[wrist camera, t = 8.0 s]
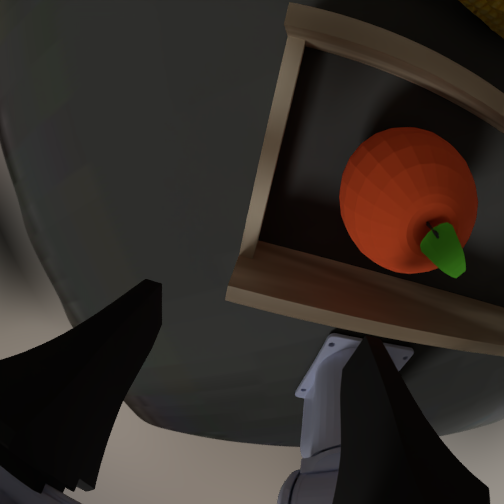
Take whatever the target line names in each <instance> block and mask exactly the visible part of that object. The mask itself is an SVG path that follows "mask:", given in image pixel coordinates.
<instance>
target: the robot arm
mask: <svg viewBox="0 0 504 504" xmlns="http://www.w3.org/2000/svg"><path fill="white" fill-rule="evenodd" d="M161 325H162V284H161V283H158V282H154V281H151V280H148V279H145V280H143V281H142V282H140V283H139V284H138V285H136V286H135V287H133V288H132V289H131V290H129V291H128V292H127V293H125V294H124V295H122V296H121V297H120V298H118V299H117V300H115V301H114V302H113V303H111V304H110V305H108V306H107V307H105V308H104V309H103V310H101V311H100V312H98V313H97V314H95V315H94V316H92V317H90V318H89V319H87V320H86V321H84V322H82V323H81V324H79V325H78V326H76V327H74V328H73V329H71V330H69V331H68V332H66V333H64V334H62V335H60V336H58V337H56V338H54V339H52V340H50V341H48V342H46V343H44V344H42V345H39V346H37V347H35V348H32V349H30V350H28V351H26V352H23V353H20V354H17V355H14V356H11V357H9V358H5V359H2V360H0V504H81V503H80V502H78V501H76V500H74V499H72V498H70V497H68V496H67V495H65V494H63V491H64V489H65V487H66V488H67V489H69V490H71V491H73V492H74V491H75V488H76V487H78V488H80V489H82V490H84V491H90V490H93V489H95V485H96V481H97V477H98V473H99V469H100V465H101V461H102V458H103V455H104V451H105V448H106V445H107V442H108V439H109V436H110V433H111V430H112V427H113V425H114V422H115V419H116V417H117V414H118V412H119V409H120V407H121V404H122V402H123V400H124V398H125V396H126V394H127V392H128V390H129V389H130V387H131V385H132V383H133V381H134V379H135V378H136V376H137V374H138V372H139V371H140V369H141V367H142V365H143V363H144V362H145V360H146V358H147V356H148V354H149V353H150V351H151V349H152V347H153V345H154V342H155V340H156V337H157V335H158V333H159V330H160V328H161ZM413 354H414V351H413V349H412V348H410V347H405V346H399V345H393V344H388V343H383V342H382V341H381V339H380V338H376V337H371V336H366V335H365V336H364V338H363V339H362V338H357V337H352V336H347V335H342V334H338V333H332V334H330V335H329V336H328V337H327V339H326V341H325V343H324V344H323V346H322V348H321V350H320V351H319V353H318V355H317V357H316V358H315V360H314V362H313V363H312V365H311V367H310V369H309V370H308V372H307V373H306V375H305V377H304V378H303V380H302V382H301V383H300V385H299V387H298V388H297V390H296V391H295V396H297V397H300V398H304V409H303V421H302V433H301V443H300V450H301V455H302V457H303V459H302V460H301V468H300V470H296V471H294V472H292V473H291V474H290V476H289V477H288V478H287V480H286V481H285V482H284V484H283V485H282V487H281V490H280V492H279V496H278V501H277V504H490V496H489V488H488V487H487V486H486V485H485V484H484V483H482V482H481V481H480V480H479V479H478V478H477V477H475V476H474V475H473V474H472V473H471V472H470V471H469V470H468V469H467V468H466V467H465V466H464V465H463V464H462V463H461V462H460V461H459V460H458V459H457V458H456V457H455V456H454V455H453V454H452V452H451V451H450V450H449V449H448V447H447V446H446V445H445V444H444V443H443V441H442V440H441V439H440V438H439V436H438V435H437V433H436V432H435V431H434V429H433V428H432V426H431V425H430V424H429V422H428V421H427V419H426V418H425V416H424V415H423V413H422V411H421V410H420V408H419V407H418V405H417V403H416V402H415V400H414V398H413V397H412V395H411V393H410V391H409V390H408V388H407V386H406V384H405V382H404V381H403V379H402V377H401V375H400V373H399V371H400V370H401V368H402V367H403V366H404V365H405V364H406V362H407V361H408V360H409V359H410V358H411V356H412V355H413Z"/></svg>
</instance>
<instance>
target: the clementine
mask: <svg viewBox="0 0 504 504" xmlns="http://www.w3.org/2000/svg"><path fill="white" fill-rule="evenodd" d="M339 199H340V209H341V216H342V219H343V221H344V224H345V227H346V229H347V232H348V233H349V235H350V237H351V239H352V240H353V242H354V243H355V244H356V246H357V247H358V248H359V250H360V251H361V252H362V253H363V254H364V255H366V256H367V257H368V258H369V259H371V260H372V261H373V262H375V263H376V264H378V265H380V266H381V267H384V268H386V269H389V270H391V271H394V272H399V273H407V274H413V273H421V272H428V271H431V270H434V269H437V268H439V269H440V270H441V271H443V272H444V273H446V274H447V275H449V276H451V277H453V278H457V277H459V276H460V275H461V274H462V273H463V272H465V271H466V263H465V257H464V252H463V247H464V246H465V244H466V242H467V241H468V239H469V237H470V235H471V232H472V229H473V227H474V224H475V221H476V216H477V207H478V199H477V192H476V186H475V182H474V179H473V176H472V174H471V172H470V169H469V167H468V165H467V163H466V161H465V160H464V158H463V157H462V156H461V155H460V154H459V152H458V151H457V150H456V149H455V148H454V147H453V146H452V145H451V144H450V143H449V142H447V141H446V140H444V139H443V138H441V137H440V136H438V135H436V134H435V133H433V132H430V131H427V130H423V129H419V128H416V127H399V128H390V129H387V130H384V131H381V132H378V133H376V134H374V135H373V136H371V137H370V138H368V139H367V140H366V141H364V142H363V143H361V144H360V146H359V147H358V148H357V149H356V151H355V152H354V153H353V154H352V156H351V157H350V158H349V161H348V163H347V165H346V167H345V170H344V172H343V174H342V181H341V187H340V195H339Z"/></svg>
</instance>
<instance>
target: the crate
mask: <svg viewBox="0 0 504 504" xmlns="http://www.w3.org/2000/svg"><path fill="white" fill-rule="evenodd" d="M284 26H285V29H286V32H287V35H288V38H287V42H286V47H285V51H284V55H283V60H282V64H281V68H280V72H279V77H278V81H277V85H276V90H275V94H274V99H273V103H272V107H271V112H270V116H269V121H268V125H267V129H266V134H265V138H264V143H263V147H262V152H261V156H260V161H259V165H258V170H257V175H256V179H255V184H254V188H253V193H252V197H251V202H250V207H249V211H248V216H247V221H246V225H245V230H244V235H243V239H242V244H241V249H240V253H239V257H238V260H237V262H236V265H235V268H234V270H233V273H232V276H231V278H230V281H229V284H228V288H227V293H226V298H225V300H227V301H231V302H234V303H238V304H242V305H246V306H250V307H253V308H257V309H261V310H265V311H269V312H273V313H277V314H281V315H285V316H289V317H294V318H298V319H302V320H306V321H311V322H315V323H319V324H324V325H328V326H333V327H337V328H342V329H347V330H351V331H356V332H361V333H366V334H371V335H376V336H381V337H386V338H391V339H396V340H402V341H407V342H413V343H418V344H424V345H430V346H436V347H442V348H448V349H455V350H461V351H468V352H475V353H482V354H490V355H498V356H504V308H503V307H500V306H496V305H493V304H489V303H486V302H483V301H479V300H476V299H472V298H469V297H465V296H462V295H458V294H455V293H451V292H448V291H444V290H440V289H437V288H433V287H430V286H426V285H423V284H419V283H415V282H412V281H408V280H405V279H401V278H397V277H394V276H390V275H386V274H383V273H379V272H375V271H372V270H368V269H364V268H361V267H357V266H353V265H350V264H346V263H342V262H338V261H335V260H331V259H327V258H324V257H320V256H316V255H312V254H308V253H305V252H301V251H297V250H293V249H289V248H286V247H282V246H278V245H274V244H270V243H266V242H263V241H259V240H258V239H259V235H260V231H261V227H262V223H263V219H264V215H265V211H266V207H267V203H268V199H269V194H270V190H271V186H272V182H273V178H274V174H275V170H276V166H277V162H278V157H279V153H280V149H281V145H282V141H283V137H284V133H285V129H286V124H287V120H288V116H289V112H290V108H291V104H292V100H293V95H294V91H295V87H296V83H297V79H298V75H299V70H300V66H301V62H302V58H303V54H304V49H305V47H309V48H313V49H317V50H321V51H325V52H328V53H332V54H335V55H339V56H342V57H345V58H348V59H351V60H354V61H358V62H360V63H363V64H366V65H369V66H372V67H375V68H377V69H380V70H383V71H385V72H388V73H390V74H393V75H395V76H398V77H400V78H403V79H405V80H407V81H410V82H412V83H414V84H416V85H418V86H421V87H423V88H425V89H427V90H429V91H431V92H433V93H435V94H437V95H439V96H441V97H443V98H445V99H447V100H449V101H451V102H453V103H454V104H456V105H458V106H460V107H462V108H463V109H465V110H467V111H469V112H470V113H472V114H474V115H475V116H477V117H479V118H480V119H482V120H484V121H485V122H487V123H488V124H490V125H492V126H493V127H495V128H496V129H498V130H499V131H501V132H502V133H504V93H502V92H501V91H500V90H498V89H497V88H495V87H494V86H492V85H491V84H489V83H488V82H486V81H485V80H483V79H482V78H480V77H479V76H477V75H476V74H474V73H472V72H471V71H469V70H467V69H466V68H464V67H462V66H461V65H459V64H457V63H455V62H454V61H452V60H450V59H448V58H446V57H445V56H443V55H441V54H439V53H437V52H435V51H433V50H431V49H429V48H427V47H425V46H423V45H421V44H418V43H416V42H414V41H412V40H410V39H407V38H405V37H403V36H400V35H398V34H396V33H393V32H391V31H388V30H385V29H383V28H380V27H377V26H375V25H372V24H369V23H366V22H363V21H360V20H357V19H354V18H351V17H348V16H344V15H341V14H337V13H334V12H330V11H326V10H322V9H318V8H314V7H310V6H306V5H301V4H296V3H291V2H289V6H288V10H287V14H286V18H285V22H284Z"/></svg>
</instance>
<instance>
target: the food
mask: <svg viewBox="0 0 504 504" xmlns="http://www.w3.org/2000/svg"><path fill="white" fill-rule="evenodd" d="M458 1H460V2H461V3H462V4H463V5H464V6H465V7H466V8H467V9H469V10H470V11H471V12H472V13H473V14H475V15H476V16H477V17H479V18H480V19H481V20H482V21H483V22H484V23H485V24H486V25H487V26H488V27H489V28H490V29H491V30H492V31H494V32H496V33H497V34H498V35H499V36H501V37H502V38H503V39H504V0H458Z"/></svg>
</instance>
